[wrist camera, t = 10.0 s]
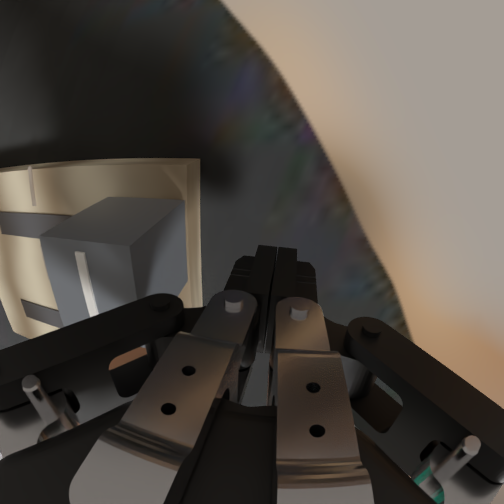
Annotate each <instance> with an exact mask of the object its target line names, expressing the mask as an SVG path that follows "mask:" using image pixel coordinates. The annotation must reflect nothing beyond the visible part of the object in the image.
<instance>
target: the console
mask: <svg viewBox="0 0 504 504" xmlns="http://www.w3.org/2000/svg"><path fill="white" fill-rule="evenodd" d="M107 197H132V198H155V199H174V200H185V228H186V254H187V273H188V281H187V283H186V284H185V286H184V288H183V289H182V291H181V292H180V294H179V296H178V297H179V298H180V299H181V300H182V301H183V304H184V308H196V307H203V304H202V278H201V240H200V159H193V158H125V159H97V160H79V161H64V162H52V163H41V164H31V165H22V166H14V167H6V168H0V298H1V301H2V304H3V307H4V309H5V312H6V314H7V317H8V319H9V322H10V324H11V326H12V329H13V331H14V332H15V333H18V334H20V335H22V336H25V337H27V338H29V339H32V338H35V337H38V336H41V335H43V334H46V333H49V332H52V331H54V330H57V329H60V328H62V327H65V326H64V325H63V322H62V320H61V317H60V314H59V310H58V307H57V304H56V301H55V298H54V294H53V291H52V287H51V284H50V280H49V276H48V273H47V269H46V265H45V261H44V256H43V252H42V248H41V243H40V238H39V236H40V235H41V234H43V233H44V232H46V231H48V230H49V229H51V228H53V227H54V226H56V225H58V224H60V223H61V222H63V221H65V220H66V219H68V218H70V217H72V216H73V215H75V214H77V213H79V212H81V211H82V210H84V209H86V208H88V207H90V206H92V205H93V204H95V203H97V202H99V201H101V200H103V199H105V198H107Z"/></svg>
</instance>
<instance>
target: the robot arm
mask: <svg viewBox="0 0 504 504" xmlns="http://www.w3.org/2000/svg"><path fill="white" fill-rule="evenodd" d="M276 255H277V261H276ZM275 266H276V267H275ZM267 326H268V329H267ZM266 332H267V338H266ZM265 338H266V348H265V353H269V354H270V361H269V369H268V385H267V406H259V407H246V406H243V405H241V403H242V400H243V397H244V393H245V390H246V387H247V384H248V381H249V378H250V375H251V372H252V365H253V362H254V360H255V356H256V352H260V353H263V349H264V344H265ZM143 345H145V347H146V352H147V354H146V355H144V356H141V357H139V358H137V359H135V360H132V361H130V362H128V363H126V364H123V365H121V366H119V367H116V368H114V369H111V370H109V365H110V363H111V361H112V360H113V359H114V358H116V357H118V356H120V355H122V354H125V353H127V352H129V351H132V350H134V349H136V348H139V347H141V346H143ZM377 377H378V378H379V379H380V380H382V381H383V382H384V383H385V384H386V385H388V386H389V387H390V388H391V389H392V390H394V391H395V392H396V393H397V394H398V395H399V396H400V397H401V399H402V402H403V407H402V406H401V405H400V404H399V403H398V402H396V401H395V400H394V399H393V398H392V397H390V396H389V395H388V394H387V393H386V392H385V391H383V390H382V389H381V388H380V387H379V386H378V385H376V384H375V381H376V379H377ZM354 424H355V425H356V426H357V427H358V428H359V429H360V430H359V429H357V428H356V427H355V425H354ZM0 450H1V453H2V457H3V459H1V460H0V504H490V503H491V502H492V501H493V499H494V497H495V496H496V494H497V492H498V491H499V489H500V488H501V486H502V485H503V484H504V409H502V408H501V407H500V406H499V405H497V404H496V403H495V402H493V401H492V400H491V399H489V398H488V397H487V396H485V395H484V394H483V393H481V392H480V391H478V390H477V389H476V388H474V387H473V386H472V385H470V384H469V383H468V382H466V381H465V380H464V379H462V378H461V377H460V376H458V375H457V374H455V373H454V372H453V371H451V370H450V369H449V368H447V367H446V366H445V365H443V364H442V363H440V362H439V361H437V360H436V359H435V358H433V357H432V356H431V355H429V354H428V353H426V352H425V351H423V350H422V349H421V348H419V347H418V346H417V345H415V344H414V343H413V342H411V341H410V340H408V339H407V338H406V337H404V336H403V335H401V334H400V333H399V332H397V331H396V330H394V329H393V328H392V327H390V326H389V325H387V324H386V323H384V322H383V321H381V320H378V319H376V318H372V317H359V318H355V319H353V320H352V321H351V322H350V323H349V324H348V327H347V326H344V325H340V324H337V323H334V322H332V321H330V320H328V319H327V318H325V317H324V316H323V311H322V308H321V307H320V306H319V305H318V300H317V286H316V274H315V269H314V267H313V266H312V265H311V264H310V263H309V262H300V261H297V249H293V248H284V247H279V248H278V254H277V247H274V246H264V245H258V249H257V252H256V255H255V257H253V256H243V257H241V258H240V259H238V260H237V261H236V262H235V265H234V267H233V269H232V272H231V275H230V277H229V279H228V281H227V284H226V286H225V288H224V291H221V292H219V293H217V294H215V295H214V296H213V297H212V298H211V300H210V301H209V303H208V305H207V306H204V307H196V308H184V304H183V301H182V300H181V299H180V298H179V297H178V296H176V295H173V294H169V293H157V294H152V295H149V296H146V297H144V298H141V299H138V300H136V301H133V302H130V303H128V304H125V305H122V306H119V307H117V308H114V309H111V310H109V311H106V312H103V313H101V314H98V315H95V316H92V317H90V318H87V319H84V320H81V321H79V322H76V323H73V324H71V325H68V326H65V327H62V328H60V329H57V330H54V331H52V332H49V333H46V334H43V335H41V336H38V337H35V338H32V339H30V340H27V341H24V342H21V343H19V344H16V345H13V346H10V347H8V348H5V349H2V350H0ZM401 468H402V469H403V470H404V471H405V472H406V473H407V474H408V475H409V476H410V477H411V478H410V477H409V476H408V475H407V474H406V473H405V472H404V471H403V470H402V469H401Z"/></svg>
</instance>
